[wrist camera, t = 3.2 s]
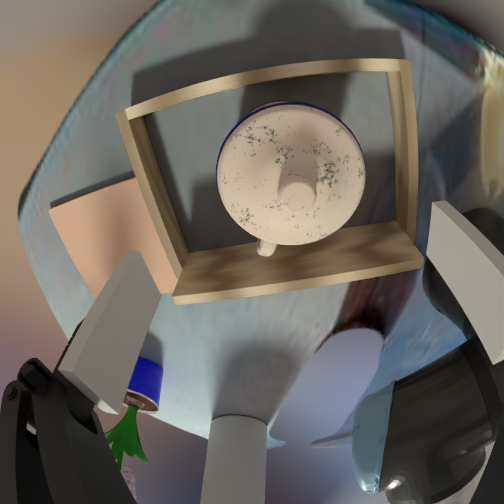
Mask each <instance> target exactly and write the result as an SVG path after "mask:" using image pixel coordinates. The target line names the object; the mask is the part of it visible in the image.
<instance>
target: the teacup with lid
mask: <svg viewBox="0 0 504 504" xmlns="http://www.w3.org/2000/svg"><path fill="white" fill-rule="evenodd" d="M216 182H217V188H218V192H219V195H220V198H221V200H222V202H223V204H224V206H225V208H226V210H227V211H228V213H229V214H230V216H231V217H232V218H233V219H234V220H235V221H236V223H237V224H238V225H240V226H241V227H242V228H243V229H244V230H246V231H247V232H249V233H250V234H252V235H254V236H255V237H257V253H258V254H259V255H262V256H267V257H268V256H271V255H272V254H273V253H274V251H275V249H276V247H277V244H281V245H301V244H307V243H311V242H315V241H317V240H320V239H322V238H325V237H327V236H328V235H330V234H332V233H333V232H335V231H336V230H338V229H339V228H340V227H341V226H342V225H344V224H345V223H346V222H347V220H348V219H349V218H350V217H351V216H352V214H353V213H354V211H355V210H356V208H357V206H358V204H359V202H360V200H361V197H362V194H363V191H364V186H365V162H364V157H363V153H362V150H361V148H360V145H359V143H358V141H357V139H356V137H355V136H354V135H353V133H352V132H351V130H350V129H349V128H348V127H347V126H346V125H345V124H344V123H343V122H342V121H341V120H340V119H339V118H337V117H336V116H335V115H333V114H331V113H330V112H328V111H326V110H324V109H322V108H319V107H317V106H314V105H310V104H306V103H299V102H289V101H278V102H272V103H268V104H265V105H263V106H261V107H259V108H257V109H255V110H254V111H252V112H251V113H250V114H249V115H247V116H246V117H244V118H243V119H242V120H241V121H240V122H238V123H237V125H236V126H235V127H234V128H233V129H232V130H231V131H230V133H229V134H228V136H227V137H226V139H225V140H224V142H223V144H222V146H221V149H220V152H219V155H218V159H217V165H216Z"/></svg>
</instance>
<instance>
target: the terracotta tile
mask: <svg viewBox="0 0 504 504" xmlns="http://www.w3.org/2000/svg"><path fill="white" fill-rule="evenodd" d="M48 212H49V214H50V216H51V218H52V221H53V223H54V225H55V227H56V229H57V231H58V233H59V235H60V237H61V239H62V241H63V243H64V245H65V247H66V249H67V251H68V253H69V255H70V256H71V258H72V260H73V262H74V264H75V266H76V267H77V269H78V271H79V273H80V274H81V276H82V278H83V280H84V281H85V283H86V285H87V286H88V288H89V290H90V291H91V293H92V294H93V296H94V298H95V299H96V298H97V297H98V295H99V293H100V292H101V290H102V289H103V287H104V285H105V284H106V282H107V281H108V279H109V277H110V276H111V274H112V273H113V271H114V270H115V268H116V267H117V265H118V264H119V262H120V261H121V259H122V258H123V256H124V255H125V253H127V252H132V251H137V250H139V251H140V253H141V255H142V257H143V259H144V262H145V264H146V266H147V268H148V270H149V272H150V274H151V276H152V278H153V280H154V282H155V284H156V286H157V288H158V290H159V291H160V293H169V292H174V289H175V287H176V284H177V282H178V279H177V278H176V276H175V274H174V271H173V269H172V267H171V265H170V262H169V260H168V258H167V255H166V253H165V251H164V248H163V246H162V244H161V241H160V239H159V236H158V234H157V232H156V229H155V227H154V224H153V222H152V219H151V217H150V214H149V211H148V209H147V206H146V204H145V201H144V198H143V196H142V193H141V190H140V187H139V185H138V182H137V179H136V177H133V178H130V179H127V180H124V181H121V182H118V183H115V184H112V185H109V186H107V187H104V188H101V189H98V190H95V191H93V192H90V193H87V194H85V195H82V196H80V197H77V198H74V199H72V200H69V201H67V202H65V203H62V204H60V205H57V206H55V207H53V208H50V209H49V210H48Z"/></svg>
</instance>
